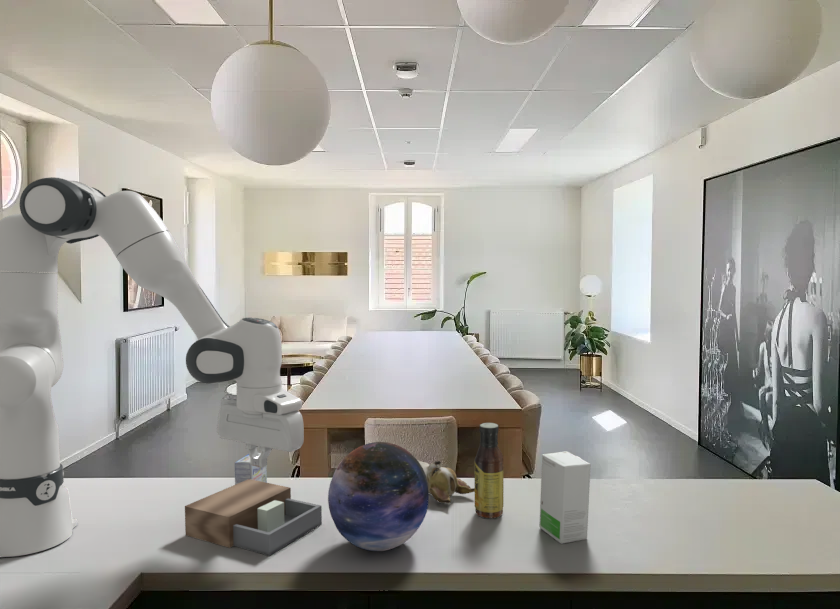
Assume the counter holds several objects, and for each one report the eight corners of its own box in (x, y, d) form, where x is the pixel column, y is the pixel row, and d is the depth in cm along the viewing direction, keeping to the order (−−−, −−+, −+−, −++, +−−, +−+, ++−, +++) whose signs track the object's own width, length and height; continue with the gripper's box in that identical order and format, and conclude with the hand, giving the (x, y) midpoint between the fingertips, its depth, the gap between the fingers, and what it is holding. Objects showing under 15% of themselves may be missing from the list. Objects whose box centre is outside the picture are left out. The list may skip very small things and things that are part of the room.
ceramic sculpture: (431, 448, 154) (479, 465, 144) (430, 482, 155) (477, 501, 145) (401, 458, 146) (449, 477, 136) (400, 493, 147) (447, 514, 137)
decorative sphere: (307, 557, 115) (306, 451, 114) (363, 518, 133) (363, 426, 132) (398, 580, 107) (398, 465, 105) (445, 535, 125) (445, 436, 123)
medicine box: (252, 499, 144) (251, 462, 143) (234, 498, 145) (233, 461, 144) (267, 487, 152) (266, 452, 151) (250, 486, 153) (249, 451, 152)
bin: (233, 545, 120) (233, 525, 120) (288, 516, 134) (287, 498, 134) (269, 555, 116) (269, 534, 116) (321, 524, 130) (321, 505, 130)
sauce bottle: (478, 507, 139) (478, 419, 138) (506, 510, 137) (506, 421, 136) (470, 518, 133) (471, 426, 132) (499, 522, 131) (500, 429, 129)
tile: (257, 508, 124) (266, 510, 123) (274, 500, 128) (284, 502, 127) (257, 532, 124) (267, 535, 123) (275, 523, 129) (284, 526, 128)
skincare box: (538, 528, 128) (539, 453, 127) (566, 523, 130) (566, 450, 129) (562, 545, 120) (562, 465, 119) (590, 539, 122) (591, 461, 121)
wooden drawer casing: (185, 535, 125) (184, 506, 124) (249, 504, 141) (248, 478, 140) (229, 547, 119) (229, 517, 119) (291, 514, 135) (290, 487, 135)
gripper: (209, 395, 127) (209, 461, 128) (287, 407, 118) (287, 479, 119) (232, 390, 133) (232, 454, 134) (308, 401, 123) (308, 470, 124)
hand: (258, 466), depth 126 cm, fingers closed
